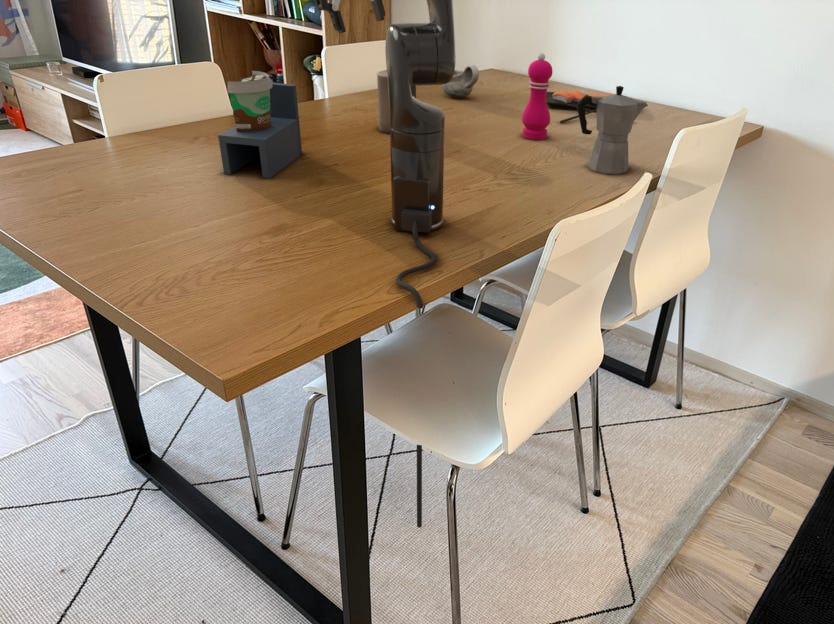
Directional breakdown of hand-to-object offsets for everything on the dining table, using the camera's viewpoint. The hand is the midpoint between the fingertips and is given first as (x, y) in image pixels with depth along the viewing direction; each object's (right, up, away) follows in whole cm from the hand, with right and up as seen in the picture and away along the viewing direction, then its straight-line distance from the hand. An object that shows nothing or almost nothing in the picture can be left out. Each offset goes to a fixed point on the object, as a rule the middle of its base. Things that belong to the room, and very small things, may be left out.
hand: (361, 26), depth 133 cm
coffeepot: (+51, -20, +28) cm, 61 cm away
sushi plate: (+53, +9, +72) cm, 90 cm away
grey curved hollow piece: (+17, +16, +80) cm, 84 cm away
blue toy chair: (-24, -21, +19) cm, 37 cm away
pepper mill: (+37, -6, +47) cm, 60 cm away
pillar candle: (+1, -4, +47) cm, 47 cm away
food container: (-24, -15, +14) cm, 31 cm away
